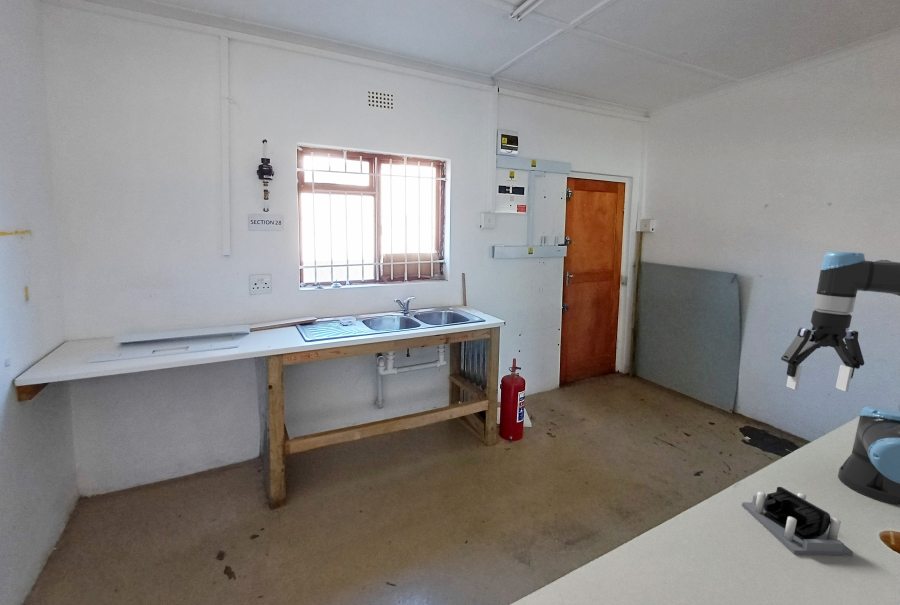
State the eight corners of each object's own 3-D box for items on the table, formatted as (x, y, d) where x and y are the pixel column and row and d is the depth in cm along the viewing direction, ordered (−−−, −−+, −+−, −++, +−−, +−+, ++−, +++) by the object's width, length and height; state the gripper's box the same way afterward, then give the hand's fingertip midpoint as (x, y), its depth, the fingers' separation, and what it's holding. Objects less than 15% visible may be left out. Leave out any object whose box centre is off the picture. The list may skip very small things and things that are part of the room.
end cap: (827, 536, 93) (833, 510, 92) (807, 543, 91) (812, 516, 90) (781, 508, 103) (785, 484, 102) (761, 513, 101) (765, 489, 99)
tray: (791, 507, 105) (796, 486, 104) (852, 555, 89) (858, 531, 88) (741, 505, 105) (745, 484, 104) (793, 554, 89) (798, 529, 88)
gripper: (865, 310, 110) (849, 385, 113) (773, 307, 109) (760, 382, 113) (895, 316, 102) (876, 395, 106) (797, 312, 102) (782, 392, 106)
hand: (816, 388), depth 110 cm, fingers open, 13 cm apart
